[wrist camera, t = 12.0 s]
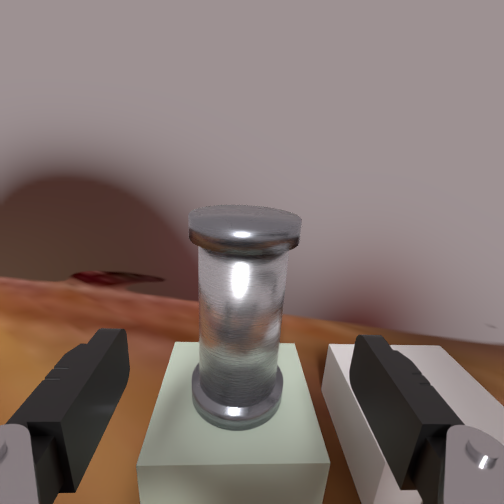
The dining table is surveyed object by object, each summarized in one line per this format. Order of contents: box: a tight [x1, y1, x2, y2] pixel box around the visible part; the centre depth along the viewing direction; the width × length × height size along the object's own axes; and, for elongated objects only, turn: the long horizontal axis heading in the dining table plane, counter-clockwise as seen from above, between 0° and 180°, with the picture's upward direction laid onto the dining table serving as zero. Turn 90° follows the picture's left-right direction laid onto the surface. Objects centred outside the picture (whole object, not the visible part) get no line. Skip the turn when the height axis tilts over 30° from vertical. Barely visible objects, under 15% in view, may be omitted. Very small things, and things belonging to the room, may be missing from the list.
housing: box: [189, 205, 302, 431], centre depth 18 cm, size 6×6×12 cm
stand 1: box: [136, 342, 330, 504], centre depth 20 cm, size 10×10×5 cm
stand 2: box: [321, 344, 504, 504], centre depth 21 cm, size 10×10×5 cm
